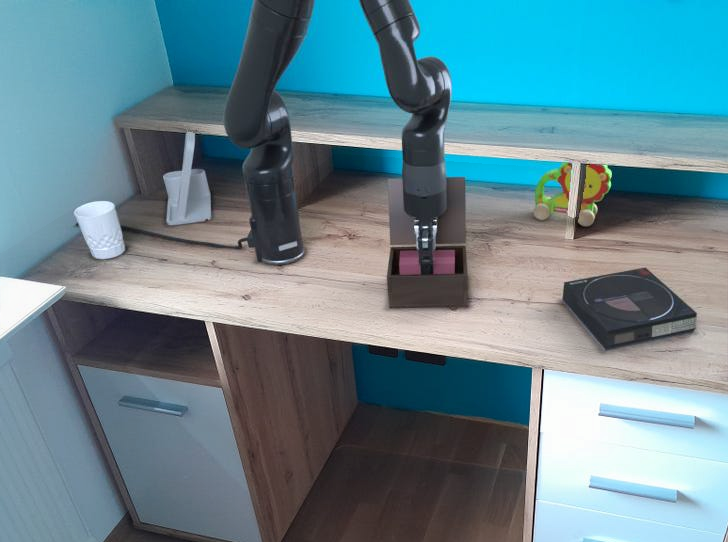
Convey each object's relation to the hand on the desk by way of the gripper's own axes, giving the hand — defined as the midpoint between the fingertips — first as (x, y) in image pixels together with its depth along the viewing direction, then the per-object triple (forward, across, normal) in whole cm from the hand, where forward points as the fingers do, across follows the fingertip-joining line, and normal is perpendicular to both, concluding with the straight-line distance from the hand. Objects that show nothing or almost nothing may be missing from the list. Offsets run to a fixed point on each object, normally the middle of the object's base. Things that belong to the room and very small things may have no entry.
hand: (427, 271), depth 128 cm
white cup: (+5, -19, -69) cm, 72 cm away
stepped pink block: (0, 0, 0) cm, 0 cm away
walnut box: (+5, 0, 0) cm, 5 cm away
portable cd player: (+5, +10, +35) cm, 37 cm away
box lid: (-8, -8, 0) cm, 12 cm away
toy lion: (+5, -30, +31) cm, 44 cm away
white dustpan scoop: (+5, -41, -58) cm, 71 cm away
